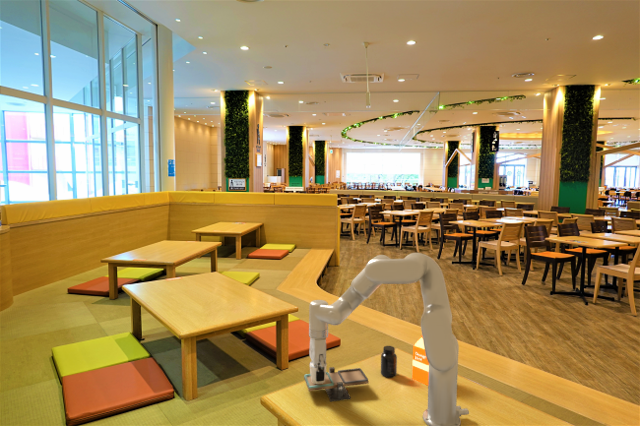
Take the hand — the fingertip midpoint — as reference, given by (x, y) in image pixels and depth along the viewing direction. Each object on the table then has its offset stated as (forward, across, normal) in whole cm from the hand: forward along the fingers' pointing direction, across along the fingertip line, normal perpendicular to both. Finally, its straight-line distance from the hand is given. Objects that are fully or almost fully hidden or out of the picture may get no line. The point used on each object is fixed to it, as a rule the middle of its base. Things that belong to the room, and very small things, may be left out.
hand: (318, 375), depth 152 cm
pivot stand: (+7, 0, +7) cm, 10 cm away
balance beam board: (+2, 0, +7) cm, 8 cm away
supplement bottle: (+7, -8, +33) cm, 35 cm away
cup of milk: (+2, 0, 0) cm, 2 cm away
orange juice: (+7, -1, +47) cm, 48 cm away
